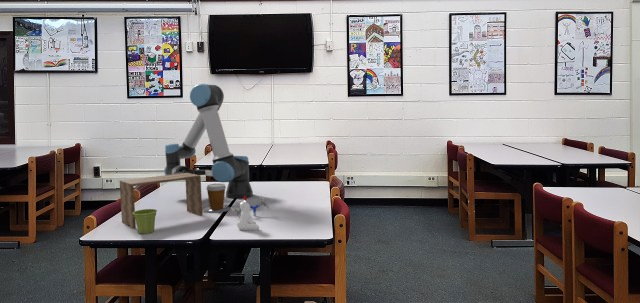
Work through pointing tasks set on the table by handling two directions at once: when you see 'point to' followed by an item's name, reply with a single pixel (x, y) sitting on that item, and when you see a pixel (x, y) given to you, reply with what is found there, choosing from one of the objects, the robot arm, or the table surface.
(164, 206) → the table surface
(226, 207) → the slate coaster
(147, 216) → the plant pot
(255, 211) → the molecular model
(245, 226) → the white creature statuette
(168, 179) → the walnut shelf
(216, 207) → the disposable coffee cup
